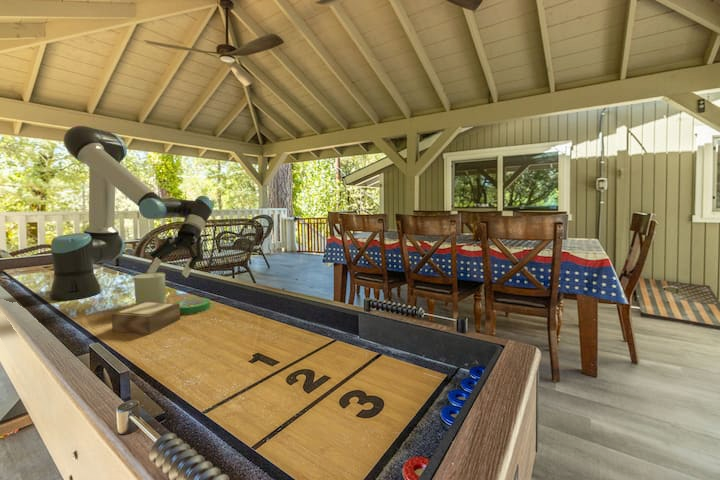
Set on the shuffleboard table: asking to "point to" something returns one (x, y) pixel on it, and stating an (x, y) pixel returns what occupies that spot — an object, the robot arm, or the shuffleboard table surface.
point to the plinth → (145, 317)
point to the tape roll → (197, 303)
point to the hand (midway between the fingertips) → (167, 274)
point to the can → (150, 288)
